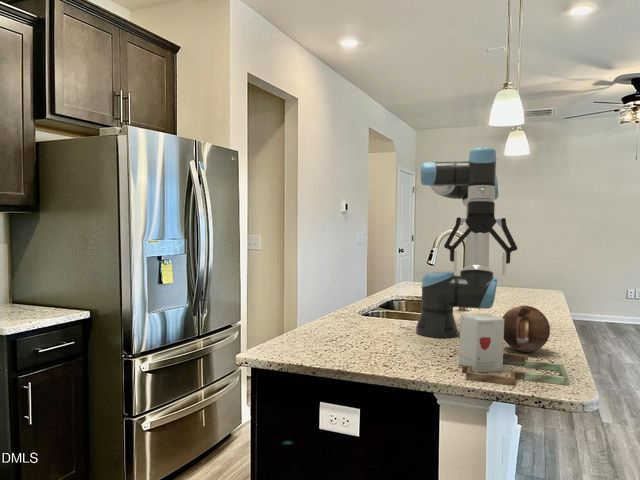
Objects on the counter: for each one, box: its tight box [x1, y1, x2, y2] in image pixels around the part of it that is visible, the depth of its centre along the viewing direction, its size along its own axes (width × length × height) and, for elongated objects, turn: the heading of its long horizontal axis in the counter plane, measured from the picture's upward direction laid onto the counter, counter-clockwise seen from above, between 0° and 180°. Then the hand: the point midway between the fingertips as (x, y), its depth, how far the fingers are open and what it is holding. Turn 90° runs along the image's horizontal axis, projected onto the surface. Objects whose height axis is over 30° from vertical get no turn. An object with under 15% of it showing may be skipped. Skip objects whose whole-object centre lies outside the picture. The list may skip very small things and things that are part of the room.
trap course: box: [461, 352, 570, 386], centre depth 137 cm, size 26×26×2 cm
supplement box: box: [458, 313, 505, 373], centre depth 140 cm, size 9×9×15 cm
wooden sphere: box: [502, 305, 551, 353], centre depth 160 cm, size 15×15×15 cm
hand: (479, 274), depth 142 cm, fingers open, 13 cm apart
